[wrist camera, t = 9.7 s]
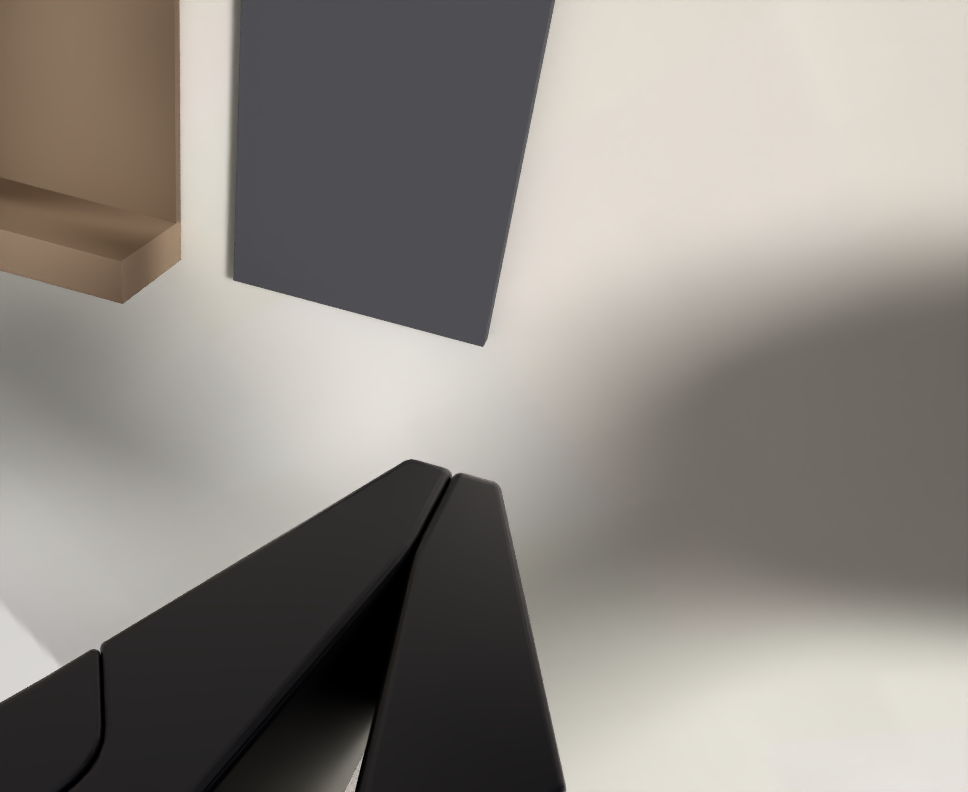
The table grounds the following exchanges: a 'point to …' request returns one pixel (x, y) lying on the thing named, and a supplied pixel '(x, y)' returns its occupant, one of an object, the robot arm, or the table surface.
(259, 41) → the dark gray rectangular plate
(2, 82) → the track
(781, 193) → the table surface
